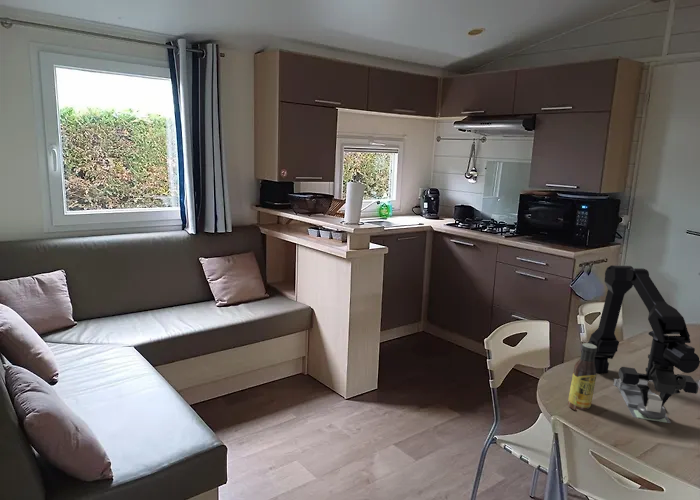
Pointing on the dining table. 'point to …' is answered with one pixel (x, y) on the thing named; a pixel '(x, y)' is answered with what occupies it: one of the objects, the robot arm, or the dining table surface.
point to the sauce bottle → (583, 379)
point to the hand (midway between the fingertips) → (652, 407)
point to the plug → (652, 407)
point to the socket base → (636, 401)
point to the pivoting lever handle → (618, 383)
